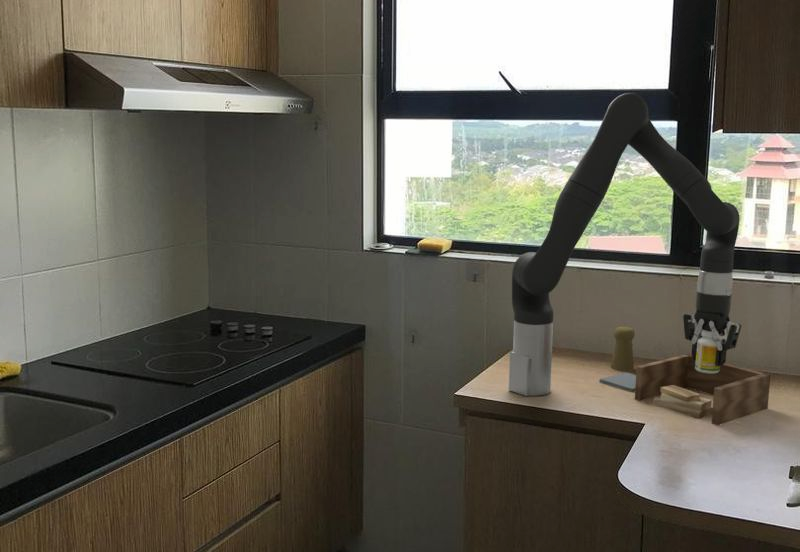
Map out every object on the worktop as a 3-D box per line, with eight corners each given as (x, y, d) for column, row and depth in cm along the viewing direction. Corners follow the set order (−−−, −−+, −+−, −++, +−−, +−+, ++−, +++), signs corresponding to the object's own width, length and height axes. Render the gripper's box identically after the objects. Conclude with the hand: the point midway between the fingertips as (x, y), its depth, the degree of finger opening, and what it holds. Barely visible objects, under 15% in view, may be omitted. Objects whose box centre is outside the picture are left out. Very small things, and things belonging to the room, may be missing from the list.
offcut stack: (698, 418, 194) (699, 400, 193) (652, 404, 203) (654, 387, 203) (713, 413, 197) (714, 395, 197) (668, 400, 207) (669, 382, 206)
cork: (636, 371, 230) (639, 330, 228) (613, 371, 230) (615, 329, 228) (631, 365, 236) (633, 324, 234) (608, 364, 236) (610, 324, 234)
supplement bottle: (689, 368, 205) (693, 328, 204) (707, 366, 208) (710, 326, 206) (707, 375, 200) (710, 333, 199) (724, 372, 203) (728, 331, 201)
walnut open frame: (717, 425, 190) (720, 389, 188) (634, 399, 207) (636, 366, 206) (767, 408, 201) (770, 374, 200) (685, 385, 219) (687, 353, 217)
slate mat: (631, 392, 213) (632, 388, 212) (599, 382, 220) (599, 378, 220) (657, 384, 219) (657, 381, 218) (625, 375, 226) (625, 372, 226)
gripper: (677, 286, 204) (671, 357, 207) (732, 297, 193) (726, 372, 196) (697, 283, 209) (691, 353, 212) (752, 294, 197) (745, 367, 200)
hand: (708, 362), depth 204 cm, fingers closed on supplement bottle, 5 cm apart
